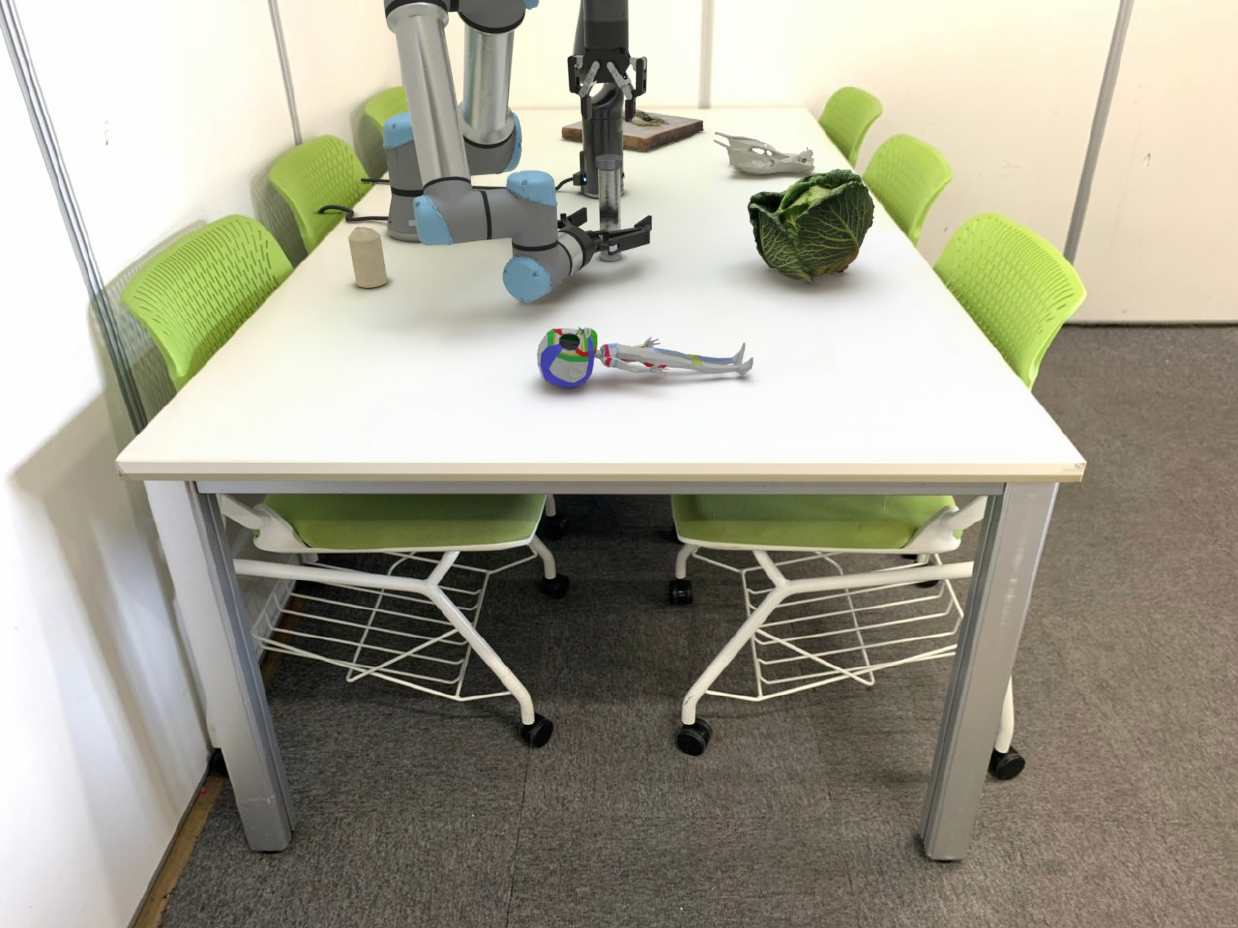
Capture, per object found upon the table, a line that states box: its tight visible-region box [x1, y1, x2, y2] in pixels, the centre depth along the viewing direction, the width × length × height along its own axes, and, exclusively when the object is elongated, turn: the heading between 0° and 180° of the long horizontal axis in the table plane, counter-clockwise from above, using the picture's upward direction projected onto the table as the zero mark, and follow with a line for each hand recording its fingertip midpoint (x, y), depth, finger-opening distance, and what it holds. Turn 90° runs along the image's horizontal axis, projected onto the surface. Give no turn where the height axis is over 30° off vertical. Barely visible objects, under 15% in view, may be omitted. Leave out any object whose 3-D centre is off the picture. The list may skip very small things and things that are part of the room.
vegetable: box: [746, 168, 876, 284], centre depth 158 cm, size 20×19×20 cm
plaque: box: [561, 108, 705, 152], centre depth 257 cm, size 30×7×30 cm
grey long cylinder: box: [598, 168, 622, 262], centre depth 167 cm, size 4×4×18 cm
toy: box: [536, 326, 754, 389], centre depth 127 cm, size 10×8×30 cm
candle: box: [347, 226, 388, 289], centre depth 159 cm, size 6×6×10 cm
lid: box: [596, 154, 622, 170], centre depth 162 cm, size 5×5×2 cm
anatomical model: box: [713, 131, 815, 176], centre depth 221 cm, size 15×9×25 cm
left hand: (617, 218), depth 171 cm, fingers open, 13 cm apart
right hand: (608, 120), depth 158 cm, fingers open, 7 cm apart
